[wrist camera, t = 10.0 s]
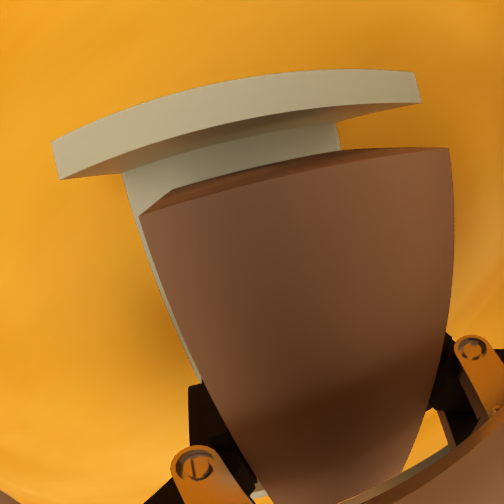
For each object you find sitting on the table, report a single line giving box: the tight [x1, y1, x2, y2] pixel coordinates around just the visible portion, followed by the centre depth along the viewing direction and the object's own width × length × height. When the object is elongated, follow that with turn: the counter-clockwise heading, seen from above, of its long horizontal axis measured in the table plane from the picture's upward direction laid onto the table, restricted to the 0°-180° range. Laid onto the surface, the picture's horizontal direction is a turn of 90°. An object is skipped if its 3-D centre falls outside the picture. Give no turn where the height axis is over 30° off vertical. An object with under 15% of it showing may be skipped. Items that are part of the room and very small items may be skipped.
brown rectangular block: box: [138, 147, 454, 504], centre depth 8 cm, size 6×13×5 cm, turn 13°
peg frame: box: [51, 69, 422, 499], centre depth 12 cm, size 10×18×7 cm, turn 13°
